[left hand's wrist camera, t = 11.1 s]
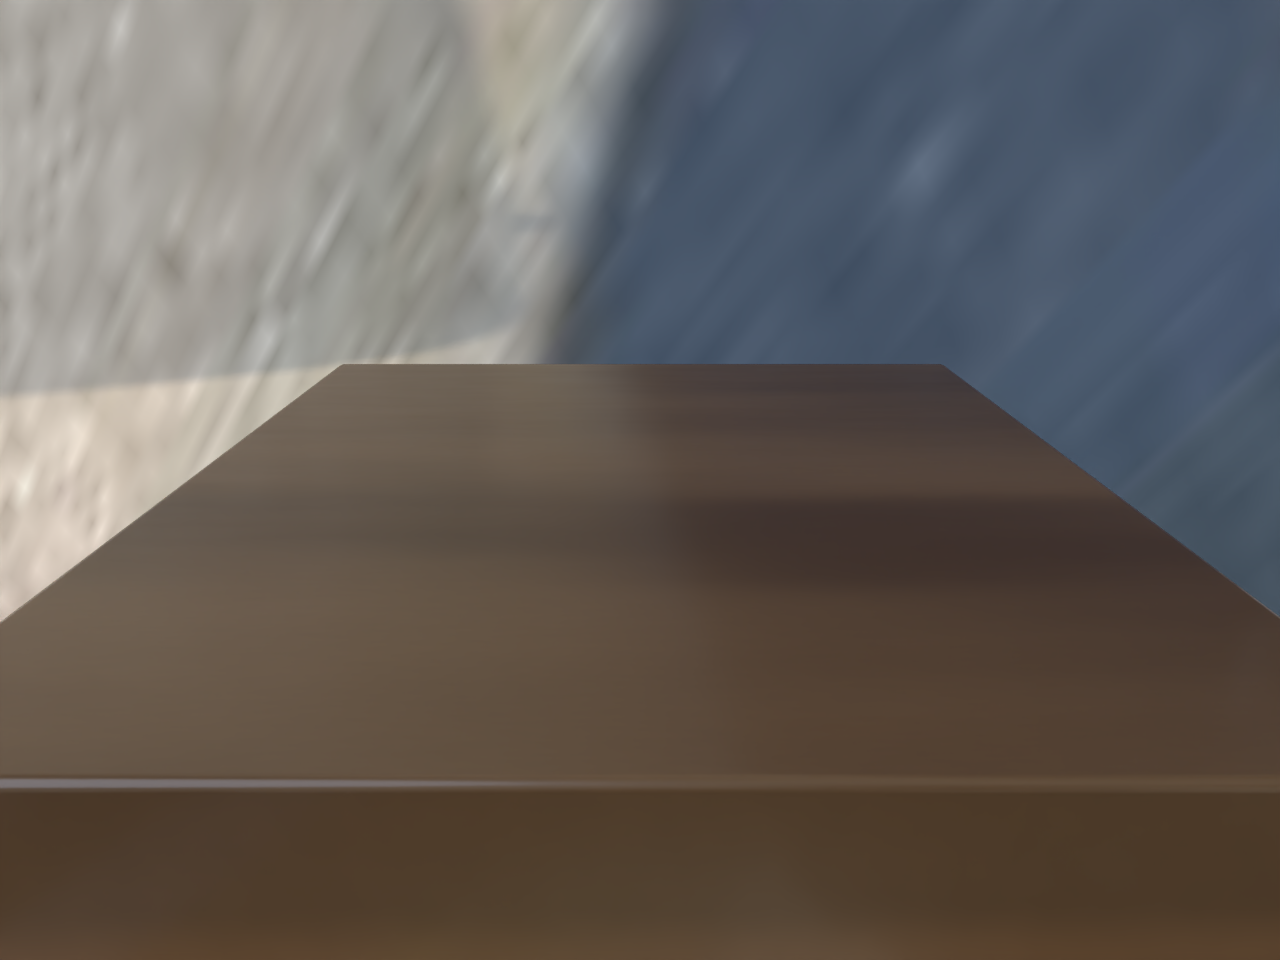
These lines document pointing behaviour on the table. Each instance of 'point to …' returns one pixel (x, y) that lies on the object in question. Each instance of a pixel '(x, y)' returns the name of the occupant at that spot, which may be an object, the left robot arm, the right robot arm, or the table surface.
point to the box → (641, 689)
